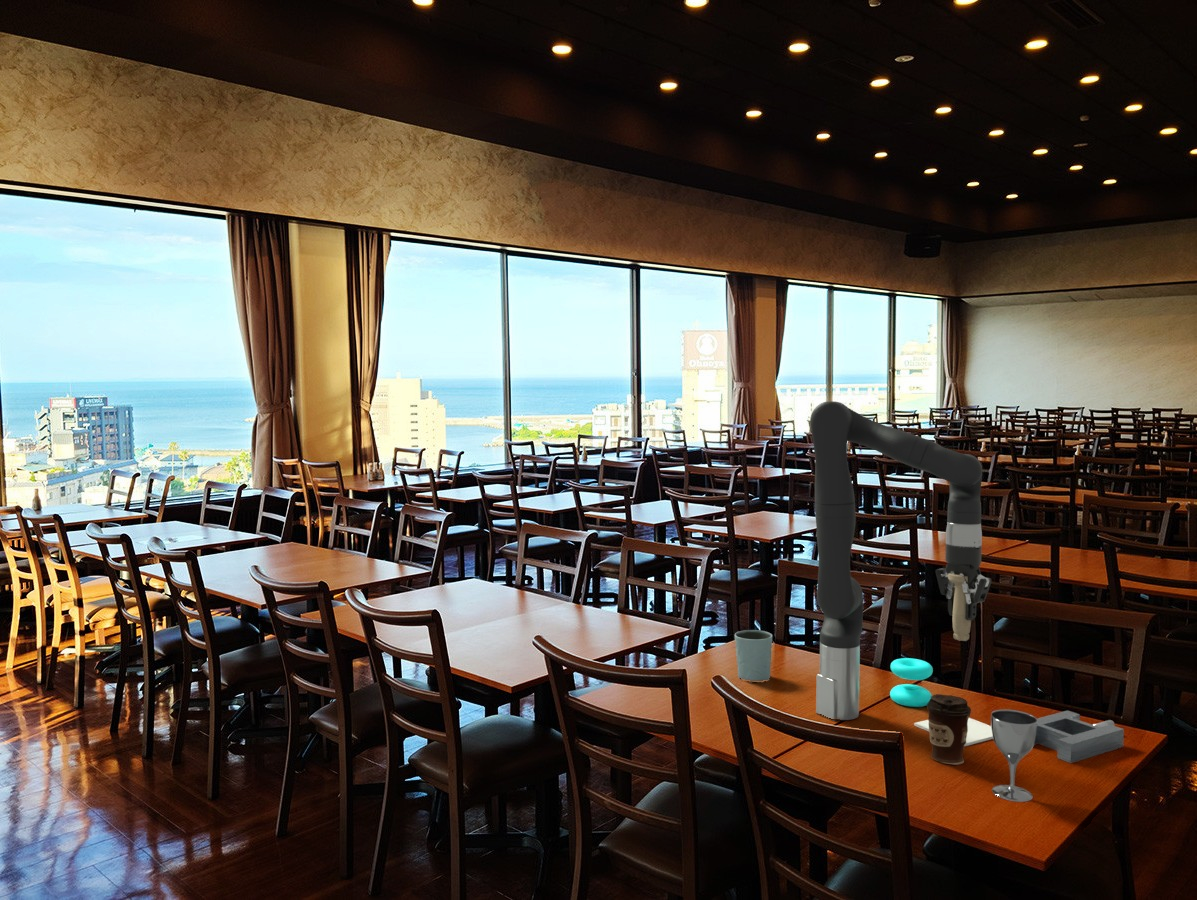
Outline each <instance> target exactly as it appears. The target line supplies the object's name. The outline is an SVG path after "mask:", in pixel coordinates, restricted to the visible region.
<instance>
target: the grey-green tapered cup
mask: <svg viewBox="0 0 1197 900" xmlns="http://www.w3.org/2000/svg"><path fill="white" fill-rule="evenodd" d="M734 642H735V643H734V645H735V655H736V664H737V665H736V666H737V676H738V677H737V678H738V679H739V678H741V679H745V680H750V681H763V680H768V679H769V678H770V679H771V666H772V648H773V634H772V633H770V632H768V631H765V630H756V629H747V630H746V629H745V630H741V631H739V630H738V631H737V632H735V633H734ZM770 679H769V680H770ZM769 680H768V681H769Z"/></svg>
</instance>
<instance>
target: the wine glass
mask: <svg viewBox="0 0 1197 900" xmlns="http://www.w3.org/2000/svg"><path fill="white" fill-rule="evenodd" d="M990 726H991V729H992V735H993V739H992V740H993V741H994V744H995V745H996V748H998V750H999V751H1000V752H1001V754H1002V755H1003V756H1004V757H1005V759H1006V761H1007V763H1008V766H1009V776H1010V777H1009V784H999V785H995V786H993V787H992V789H991V792H992V791H993V792H992V793H993V794H994V795H995V796H996V795H997V796H996V797H998V796H999V797H998V798H1000V799H1003V800H1006V801H1009V802H1010V801H1011V802H1019V803H1023V802H1025V803H1026V802H1030V801H1031V800H1033V794H1032V793H1031V792H1030V791H1029V790H1027V789H1025V788H1023V787H1019V786H1016V785H1015V784H1016V783H1015V779H1016V772H1017V771H1016V770H1017V768H1018V767H1017V766H1018V764H1019V762H1020V761H1021V760H1022V759H1023V758H1024V757H1025V756H1026V755H1028V754H1029V753H1030V752H1031V751H1032V750H1033V747H1034V746H1035V745H1034V742H1035V738H1036V733H1037V717H1036V716H1034V715H1033V714H1031V713H1028V712H1024V711H1023V710H1022V711H1020V710H1015V709H1003V708H1002V709H997V710H993V711H992V712H991V713H990Z"/></svg>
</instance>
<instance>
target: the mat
mask: <svg viewBox="0 0 1197 900" xmlns="http://www.w3.org/2000/svg"><path fill="white" fill-rule="evenodd" d="M913 725H914V726H915V727H917V728H919V729H922V730H924V731H927V732H929V721H928V719H926V720H920V721H917V722H914V723H913ZM967 726H968V732H967V737H966V744H965V745H964V747H968V746H972V745H974V744H975V745H976V744H980V743H983V742H986V741H990V740H993V735H992V729H991V724H990V725H989V724H987V723H984V722H981V721H978V720H976V719H974V718H971V717H969V718H968V723H967Z"/></svg>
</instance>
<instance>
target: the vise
mask: <svg viewBox="0 0 1197 900" xmlns="http://www.w3.org/2000/svg"><path fill="white" fill-rule="evenodd" d="M1080 718H1081V714H1079V713H1077V712H1074V711H1070V710H1064V711H1060V712H1056V713H1053V714H1049V715H1045V716H1041V717H1039V718H1037V717H1036V719H1037V733H1036V738H1035V742H1034V746H1035V745H1037V744H1038V745H1041V746H1044V747H1046V748H1048V749H1051V750H1054V751H1056V752H1057V755H1056V756H1057V759H1059V760H1062V761H1064V762H1066V763H1069V764H1073V763H1075V762H1076V763H1077V762H1080V761H1083V760H1086V759H1088V758H1089V759H1090V758H1094V757H1095V756H1096V757H1097V756H1098V755H1102V754H1105V752H1106V753H1108V752H1112V751H1115V750H1117V749H1118V748H1119V749H1122V748H1124V739H1125V738H1124V735H1125V734H1124V733H1125V732H1124V731H1125V729H1124V728H1122V727H1118V726H1116V725H1115V722H1114V721H1113V720H1111V719H1108V720H1105V721H1100V722H1098V723H1093V724H1091V723H1090V722H1089V723H1088V722H1086V721H1082V720H1081V719H1080ZM1121 747H1122V748H1121ZM1119 749H1118V750H1119Z"/></svg>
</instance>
